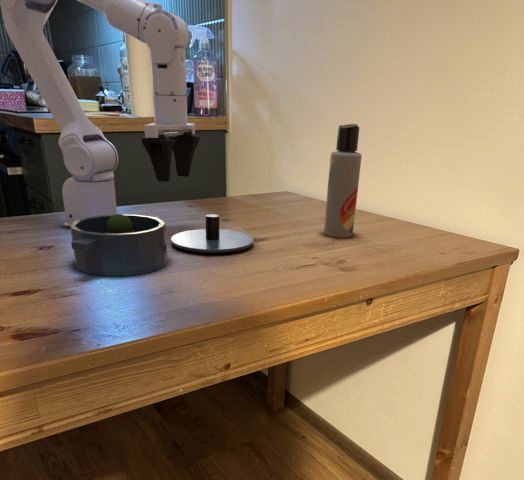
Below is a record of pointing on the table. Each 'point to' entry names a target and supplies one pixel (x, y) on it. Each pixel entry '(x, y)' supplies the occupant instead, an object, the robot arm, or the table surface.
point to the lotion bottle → (343, 183)
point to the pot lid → (212, 238)
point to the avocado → (119, 224)
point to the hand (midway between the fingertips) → (173, 178)
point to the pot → (119, 246)
